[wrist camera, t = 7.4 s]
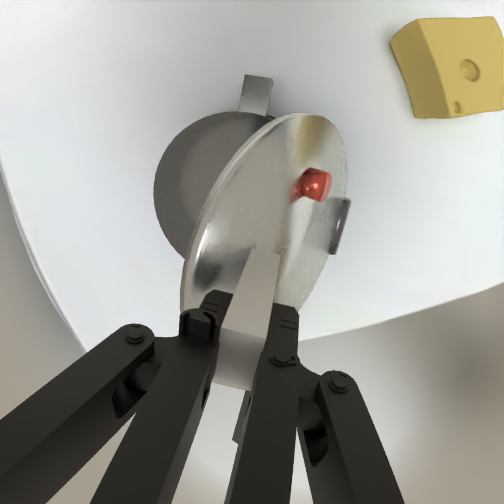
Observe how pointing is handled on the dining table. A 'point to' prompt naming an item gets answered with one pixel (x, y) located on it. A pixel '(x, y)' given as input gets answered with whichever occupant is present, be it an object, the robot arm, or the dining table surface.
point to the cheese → (452, 65)
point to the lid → (271, 214)
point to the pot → (204, 160)
